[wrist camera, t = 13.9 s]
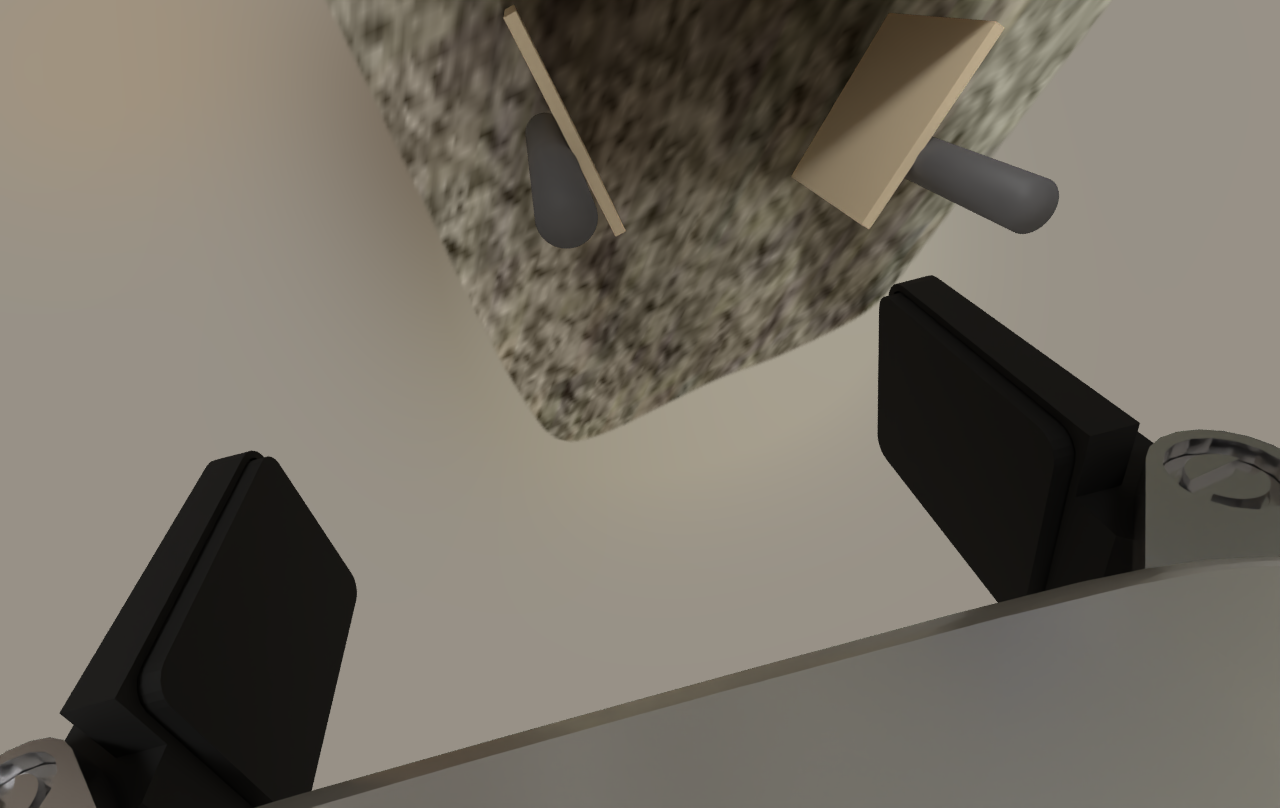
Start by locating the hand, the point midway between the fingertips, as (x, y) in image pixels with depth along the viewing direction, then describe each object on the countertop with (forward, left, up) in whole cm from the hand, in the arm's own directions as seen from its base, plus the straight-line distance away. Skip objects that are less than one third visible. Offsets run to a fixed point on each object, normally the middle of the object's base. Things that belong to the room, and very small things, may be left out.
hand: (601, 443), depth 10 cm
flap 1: (-1, 0, -28) cm, 28 cm away
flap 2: (-1, +17, -28) cm, 33 cm away
